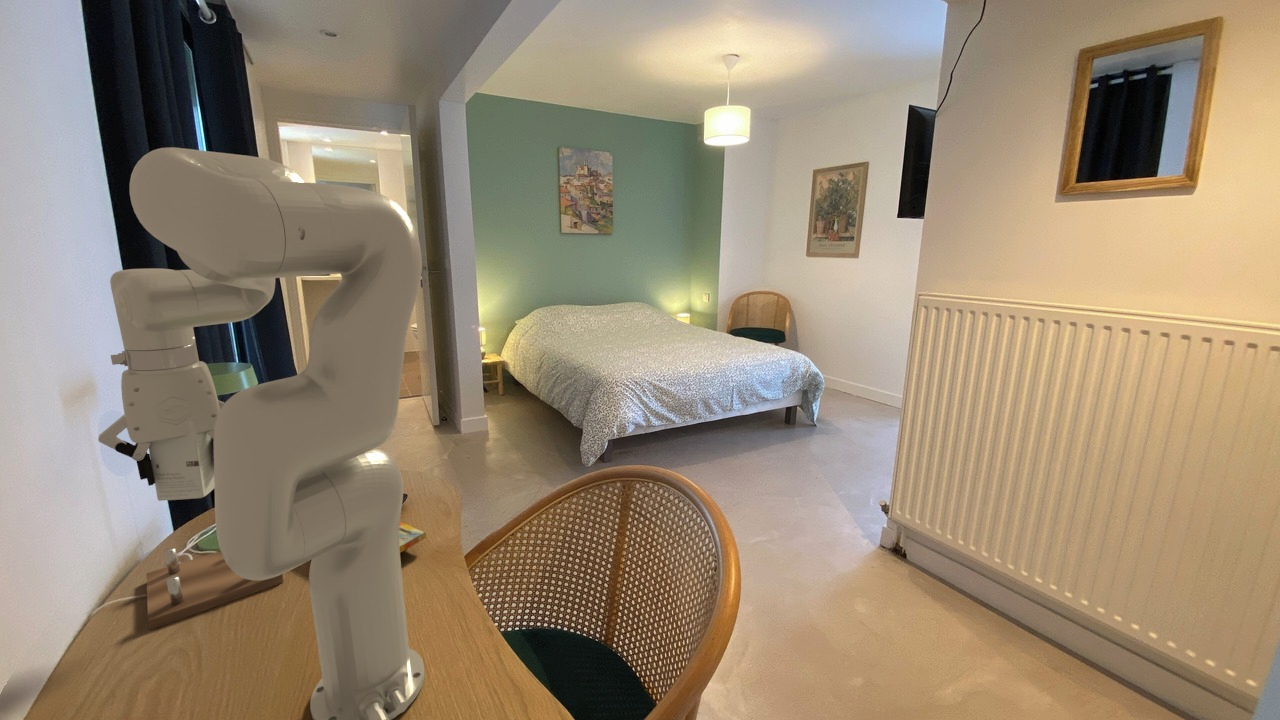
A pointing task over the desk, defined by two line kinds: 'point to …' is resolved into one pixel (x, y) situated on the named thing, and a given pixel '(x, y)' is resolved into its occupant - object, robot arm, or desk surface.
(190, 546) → the desk surface
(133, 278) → the robot arm
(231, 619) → the desk surface
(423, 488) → the desk surface
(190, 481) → the skincare box
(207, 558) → the post stand
